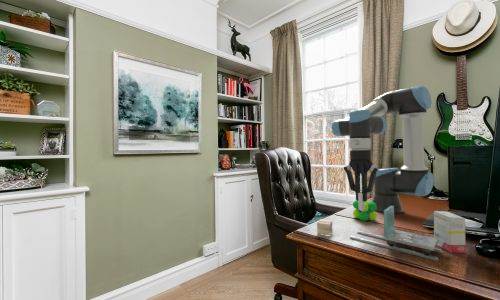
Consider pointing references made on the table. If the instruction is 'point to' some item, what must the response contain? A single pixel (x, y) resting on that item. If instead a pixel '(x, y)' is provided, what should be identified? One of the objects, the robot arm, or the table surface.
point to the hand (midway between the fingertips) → (361, 209)
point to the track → (394, 246)
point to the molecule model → (365, 211)
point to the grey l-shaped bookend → (406, 235)
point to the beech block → (324, 227)
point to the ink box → (449, 231)
